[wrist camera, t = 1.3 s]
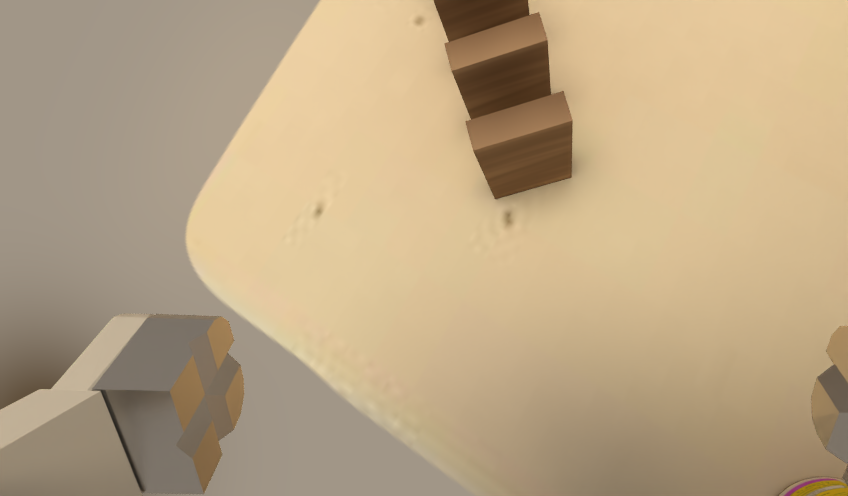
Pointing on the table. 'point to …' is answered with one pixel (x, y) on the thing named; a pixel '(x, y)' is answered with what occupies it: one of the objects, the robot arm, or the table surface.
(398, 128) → the table surface
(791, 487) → the supplement bottle
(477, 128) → the domino
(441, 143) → the table surface
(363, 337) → the table surface
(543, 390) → the table surface
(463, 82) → the domino
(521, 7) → the domino
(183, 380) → the robot arm
